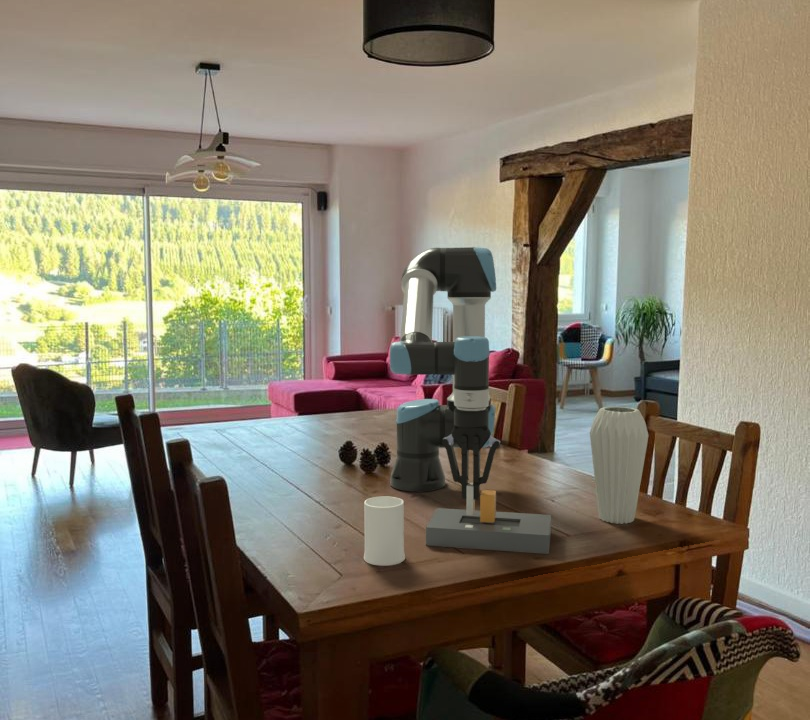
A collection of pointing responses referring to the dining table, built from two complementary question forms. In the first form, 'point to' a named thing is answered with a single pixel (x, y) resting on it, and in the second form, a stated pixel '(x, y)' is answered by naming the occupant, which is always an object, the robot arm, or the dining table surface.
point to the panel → (490, 531)
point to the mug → (384, 530)
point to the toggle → (488, 506)
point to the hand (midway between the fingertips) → (470, 513)
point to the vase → (618, 461)
